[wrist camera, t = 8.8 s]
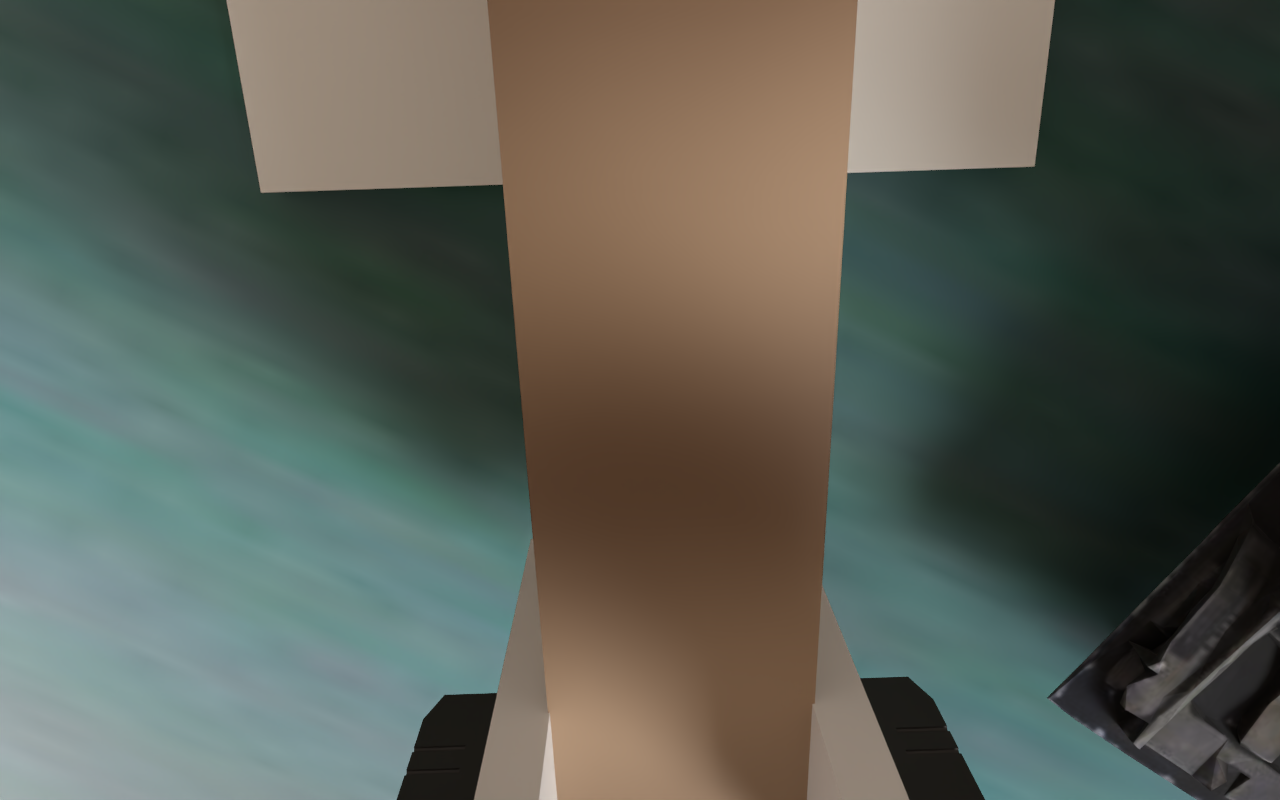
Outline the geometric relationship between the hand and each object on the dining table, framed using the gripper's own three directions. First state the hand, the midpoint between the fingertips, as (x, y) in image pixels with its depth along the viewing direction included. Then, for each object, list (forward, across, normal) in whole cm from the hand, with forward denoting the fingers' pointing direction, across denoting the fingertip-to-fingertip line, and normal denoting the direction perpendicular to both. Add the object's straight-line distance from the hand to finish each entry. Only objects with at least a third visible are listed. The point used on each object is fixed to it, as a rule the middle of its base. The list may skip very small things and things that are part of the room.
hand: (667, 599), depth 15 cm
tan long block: (0, 0, -4) cm, 4 cm away
